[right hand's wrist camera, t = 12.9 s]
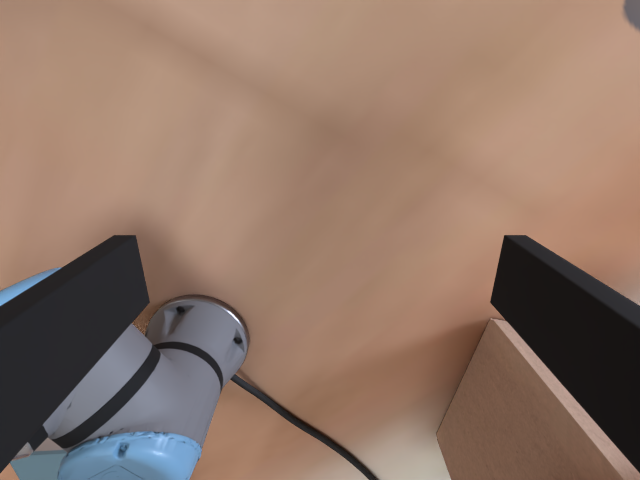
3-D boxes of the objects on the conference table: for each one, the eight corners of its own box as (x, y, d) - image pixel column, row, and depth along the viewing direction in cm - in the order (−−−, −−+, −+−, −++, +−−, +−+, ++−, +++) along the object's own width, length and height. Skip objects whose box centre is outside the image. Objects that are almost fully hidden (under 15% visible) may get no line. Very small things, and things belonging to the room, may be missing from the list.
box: (552, 488, 66) (697, 726, 41) (375, 461, 63) (412, 699, 38) (684, 298, 51) (1051, 490, 25) (457, 252, 48) (612, 415, 22)
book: (156, 422, 60) (142, 449, 55) (176, 484, 66) (166, 512, 61) (30, 429, 60) (6, 456, 56) (62, 489, 66) (42, 518, 61)
